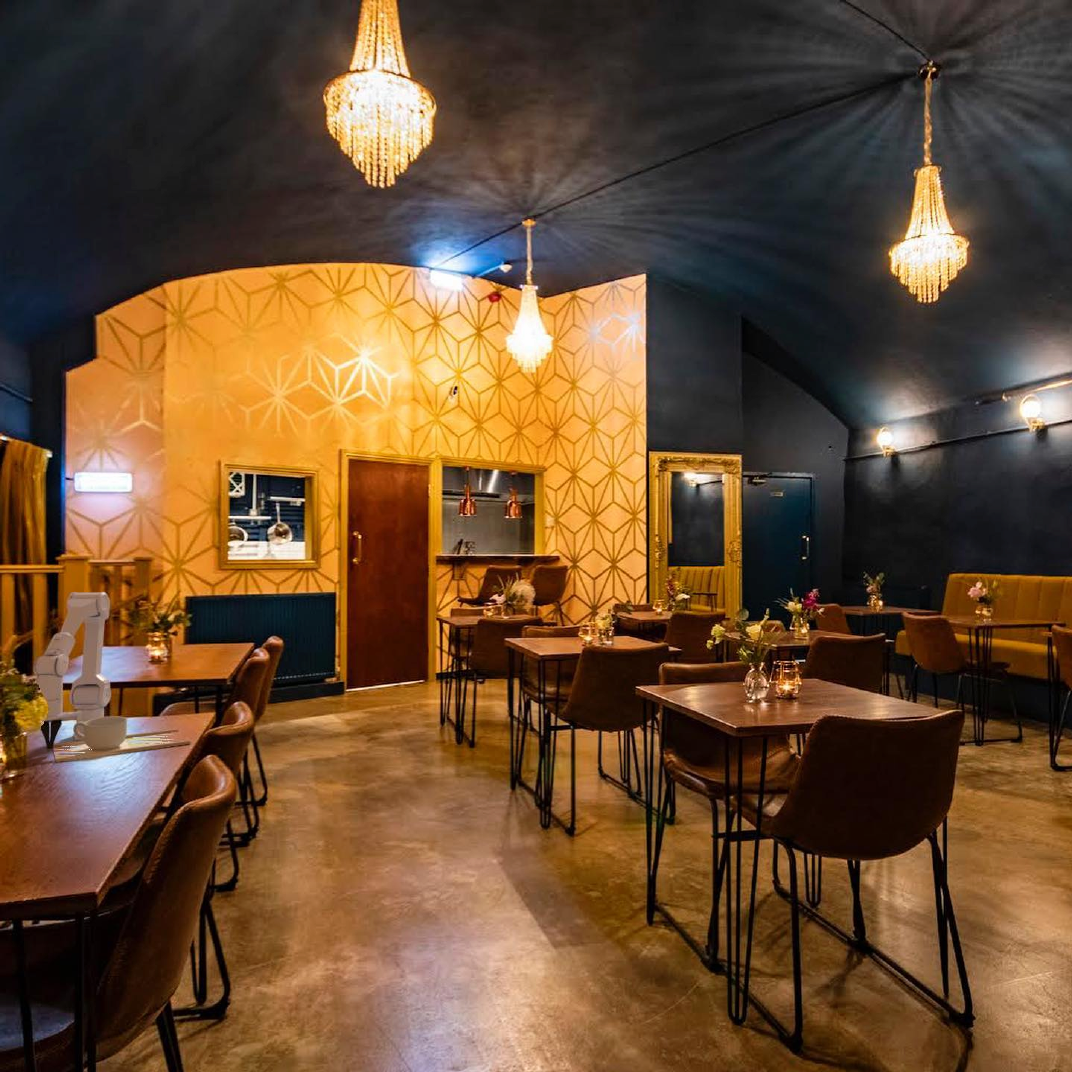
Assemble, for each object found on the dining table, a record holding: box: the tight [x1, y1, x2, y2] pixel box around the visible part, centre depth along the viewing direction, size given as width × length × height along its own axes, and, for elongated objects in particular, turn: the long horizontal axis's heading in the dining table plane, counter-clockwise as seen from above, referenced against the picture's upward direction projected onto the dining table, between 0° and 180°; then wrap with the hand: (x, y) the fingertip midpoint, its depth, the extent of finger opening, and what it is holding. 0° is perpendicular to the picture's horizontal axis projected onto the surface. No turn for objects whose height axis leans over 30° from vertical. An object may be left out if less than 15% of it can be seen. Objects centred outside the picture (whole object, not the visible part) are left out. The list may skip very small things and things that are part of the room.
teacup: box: [72, 715, 128, 751], centre depth 214 cm, size 14×11×8 cm
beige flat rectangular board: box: [52, 728, 191, 763], centre depth 217 cm, size 19×33×1 cm, turn 126°
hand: (49, 748), depth 207 cm, fingers closed
